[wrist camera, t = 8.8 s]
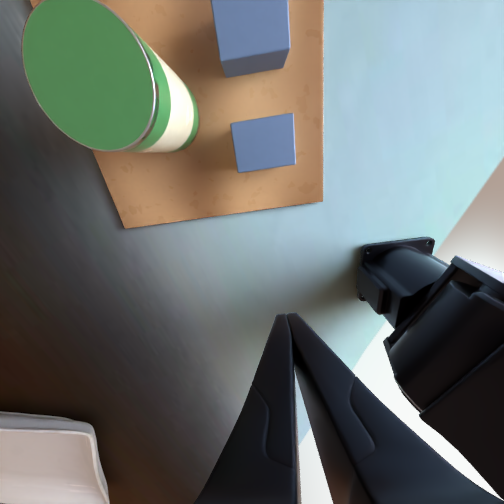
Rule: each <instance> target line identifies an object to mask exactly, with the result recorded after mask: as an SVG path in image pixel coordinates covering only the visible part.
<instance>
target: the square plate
mask: <svg viewBox="0 0 504 504" xmlns="http://www.w3.org/2000/svg"><path fill="white" fill-rule="evenodd" d="M0 503H6V504H110V501H109V497H108V487H107V483H106V479H105V476H104V474H103V470H102V467H101V464H100V460H99V455H98V449H97V441H96V436H95V432H94V428H93V426H92V425H90V424H89V423H86V422H82V421H75V420H72V419H69V418H64V417H57V416H47V415H35V414H24V413H12V412H1V411H0Z"/></svg>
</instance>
